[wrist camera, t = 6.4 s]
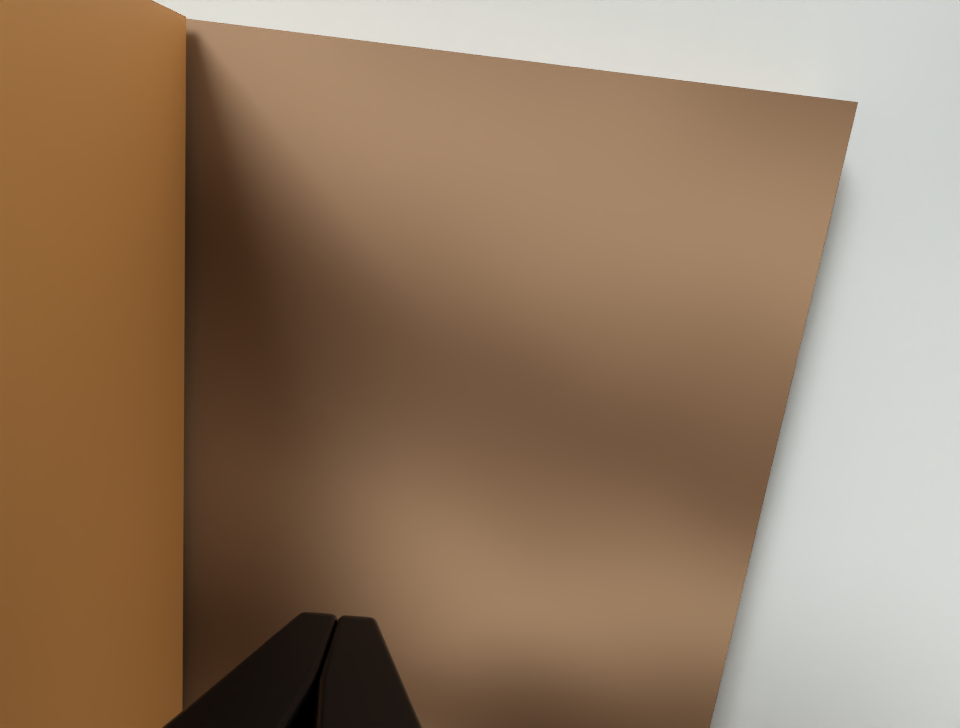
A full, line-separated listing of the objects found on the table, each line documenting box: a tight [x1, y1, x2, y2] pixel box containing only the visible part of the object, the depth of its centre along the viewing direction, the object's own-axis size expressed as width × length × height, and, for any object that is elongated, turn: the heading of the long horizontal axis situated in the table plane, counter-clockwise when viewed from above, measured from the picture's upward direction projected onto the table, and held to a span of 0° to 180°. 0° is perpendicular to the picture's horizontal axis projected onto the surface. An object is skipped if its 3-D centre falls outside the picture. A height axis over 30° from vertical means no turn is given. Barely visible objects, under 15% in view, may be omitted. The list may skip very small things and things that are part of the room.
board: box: [182, 19, 858, 728], centre depth 14 cm, size 22×22×2 cm
